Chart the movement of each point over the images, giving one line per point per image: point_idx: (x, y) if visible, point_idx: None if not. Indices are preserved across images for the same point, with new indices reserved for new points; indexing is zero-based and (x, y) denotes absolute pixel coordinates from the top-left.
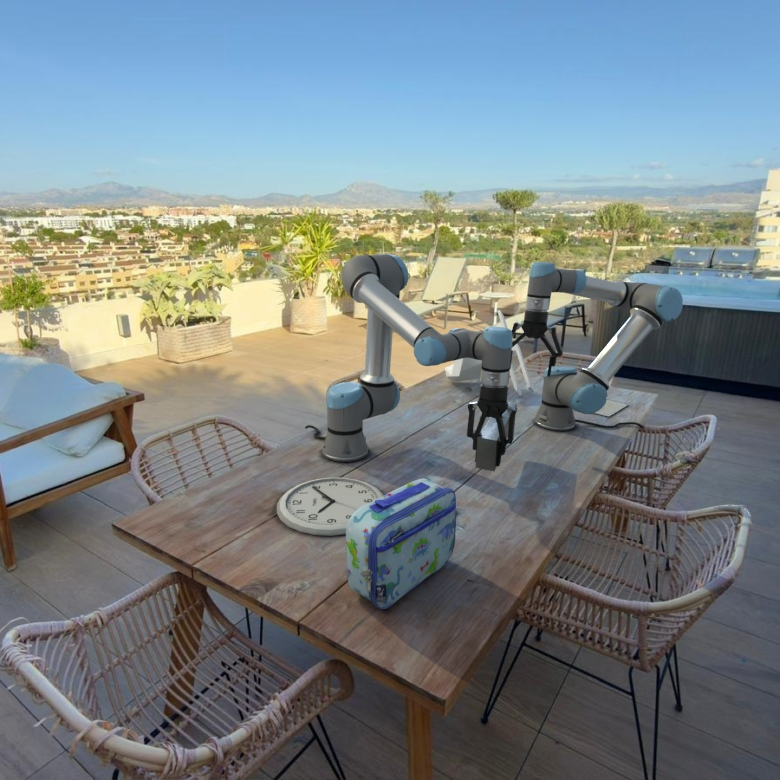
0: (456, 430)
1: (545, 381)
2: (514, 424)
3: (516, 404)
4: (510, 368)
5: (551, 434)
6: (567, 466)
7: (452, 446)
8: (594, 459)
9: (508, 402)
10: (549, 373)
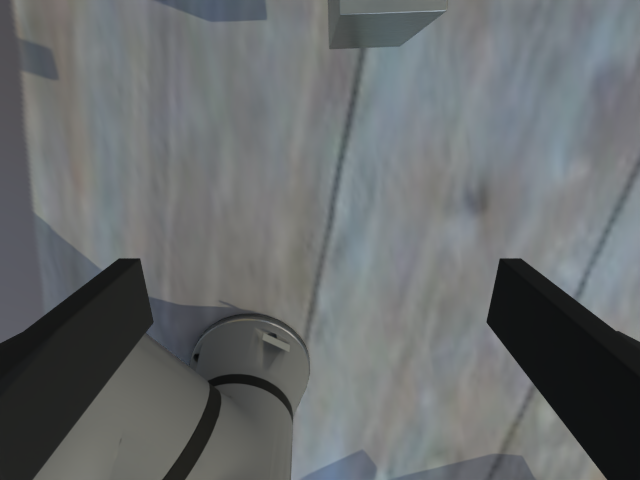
0: (531, 185)
1: (274, 476)
2: (330, 34)
3: (338, 7)
4: (487, 319)
5: (242, 285)
6: (131, 40)
7: (531, 30)
8: (74, 145)
9: (393, 5)
10: (108, 271)
